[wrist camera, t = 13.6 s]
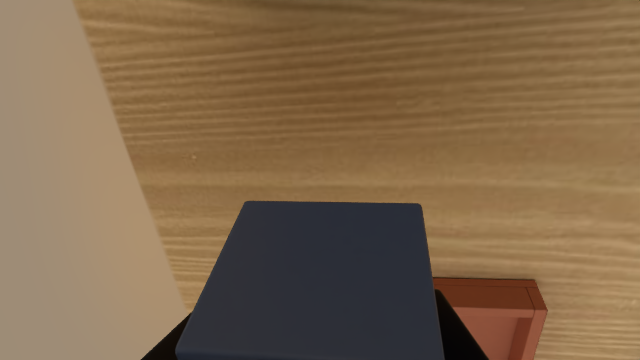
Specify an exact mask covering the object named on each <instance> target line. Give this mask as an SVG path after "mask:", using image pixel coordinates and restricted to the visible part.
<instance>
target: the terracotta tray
mask: <svg viewBox="0 0 640 360" xmlns="http://www.w3.org/2000/svg"><path fill="white" fill-rule="evenodd" d="M433 284H434V289H439V290H440V291H441V292H442V293H443V295H444V296H445V298H446V299H447V300H448V302H449V303H450V305H451V306H452V307H453V309H454V310H455V312H456V313H457V315H458V316H459V317H460V319H461V320H462V322H463V323H464V324H465V326H466V327H467V329H468V330H469V332H470V333H471V334H472V336H473V337H474V339H475V340H476V341H477V343H478V344H479V346H480V347H481V349H482V350H483V351H484V353H485V354H486V356H487V357H488V358H489V360H533V358H534V355H535V352H536V348H537V345H538V342H539V338H540V335H541V332H542V328H543V325H544V322H545V318H546V315H547V312H548V310H547V308H546V305H545V303H544V301H543V298H542V296H541V294H540V292H539V289H538V287H537V284H536V282H535V281H533V280H490V279H447V278H433Z"/></svg>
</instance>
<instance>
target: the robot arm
mask: <svg viewBox="0 0 640 360" xmlns="http://www.w3.org/2000/svg"><path fill="white" fill-rule="evenodd" d="M434 291H435V298H436V305H437V311H438V318H439V325H440V331H441V338H442V345H443V351H444V358H445V360H489V358H488V357H487V356H486V354H485V353H484V351H483V350H482V349H481V347H480V346H479V344H478V343H477V341H476V340H475V339H474V337H473V336H472V334H471V333H470V332H469V330H468V329H467V327H466V326H465V324H464V323H463V322H462V320H461V319H460V317H459V316H458V315H457V313H456V312H455V310H454V309H453V307H452V306H451V305H450V303H449V302H448V300H447V299H446V298H445V296H444V295H443V293H442V292H441V291H440V290H439V289H434ZM192 312H193V311H192ZM192 312H191V313H190V314H189V315H188V316H187V317H186V318H185V319H184V320H183V321H182V322H181V323H180V324H178V325H177V326H176V327H175V328H174V329H173V330H172V331H171V332H170V333H169V334H168V335H167V336H166V337H164V339H162V340H161V341H160V342H159V343H158V344H157V345H156V346H155V347H154V348H153V349H152V350H151V351H149V352H148V353H147V354H146V355H145V356H144V357H143V358H142V359H141V360H178V359H177V356H176V354H175V349H176V346H177V343H178V341H179V339H180V337H181V335H182V333H183V331H184V329H185V327H186V325H187V322H188V320H189V318H190V316H191V314H192Z"/></svg>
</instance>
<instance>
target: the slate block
mask: <svg viewBox="0 0 640 360" xmlns="http://www.w3.org/2000/svg"><path fill="white" fill-rule="evenodd" d="M175 354H176V356H177V359H178V360H445V358H444V351H443V345H442V338H441V331H440V325H439V318H438V311H437V305H436V298H435V291H434V284H433V278H432V271H431V264H430V258H429V251H428V244H427V238H426V231H425V224H424V218H423V211H422V207H421V205H420V204H418V203H358V202H292V201H246V202H245V203H244V205H243V207H242V209H241V211H240V213H239V215H238V217H237V219H236V221H235V224H234V226H233V228H232V230H231V232H230V234H229V236H228V238H227V240H226V242H225V245H224V247H223V249H222V251H221V253H220V255H219V257H218V259H217V261H216V264H215V266H214V268H213V270H212V272H211V274H210V276H209V278H208V280H207V282H206V285H205V287H204V289H203V291H202V293H201V295H200V297H199V299H198V301H197V303H196V306H195V308H194V310H193V312H192V314H191V316H190V318H189V320H188V322H187V325H186V327H185V329H184V331H183V333H182V335H181V337H180V339H179V341H178V343H177V346H176V349H175Z"/></svg>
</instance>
